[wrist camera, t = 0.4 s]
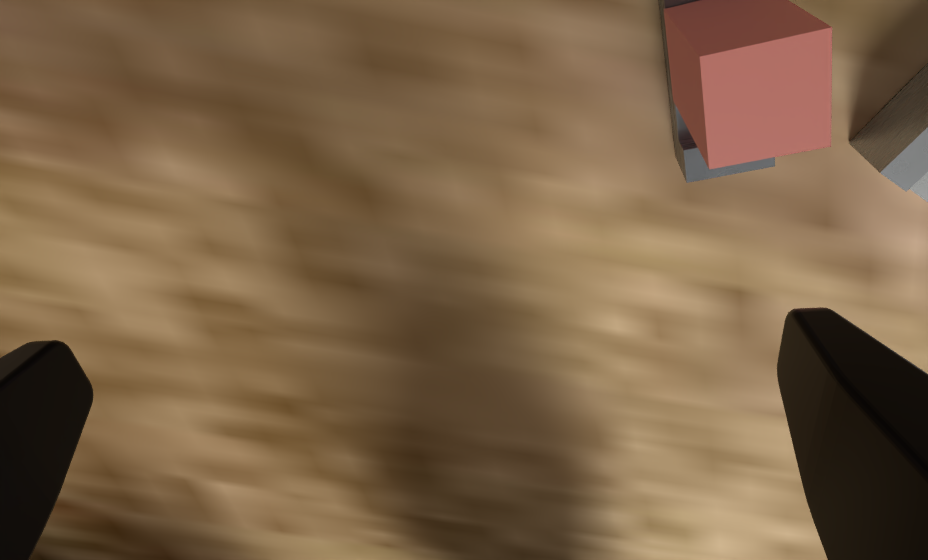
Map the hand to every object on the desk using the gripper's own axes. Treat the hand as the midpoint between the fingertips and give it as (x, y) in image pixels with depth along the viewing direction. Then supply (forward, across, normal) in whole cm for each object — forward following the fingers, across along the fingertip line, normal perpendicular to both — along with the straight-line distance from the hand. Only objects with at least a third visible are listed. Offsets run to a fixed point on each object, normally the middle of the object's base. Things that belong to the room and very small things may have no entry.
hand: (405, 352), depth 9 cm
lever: (+13, -6, +1) cm, 14 cm away
